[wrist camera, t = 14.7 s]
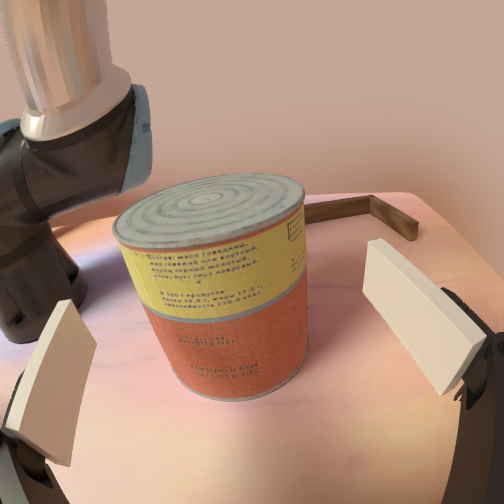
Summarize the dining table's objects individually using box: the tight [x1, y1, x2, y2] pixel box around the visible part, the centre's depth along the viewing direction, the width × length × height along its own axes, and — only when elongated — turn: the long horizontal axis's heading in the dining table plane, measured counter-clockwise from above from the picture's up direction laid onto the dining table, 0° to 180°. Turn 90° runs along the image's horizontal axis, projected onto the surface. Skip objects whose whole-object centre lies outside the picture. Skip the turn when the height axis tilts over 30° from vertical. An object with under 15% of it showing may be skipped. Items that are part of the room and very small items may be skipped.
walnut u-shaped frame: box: [304, 195, 419, 241], centre depth 35 cm, size 12×19×2 cm, turn 101°
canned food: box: [112, 173, 308, 402], centre depth 18 cm, size 11×11×12 cm
